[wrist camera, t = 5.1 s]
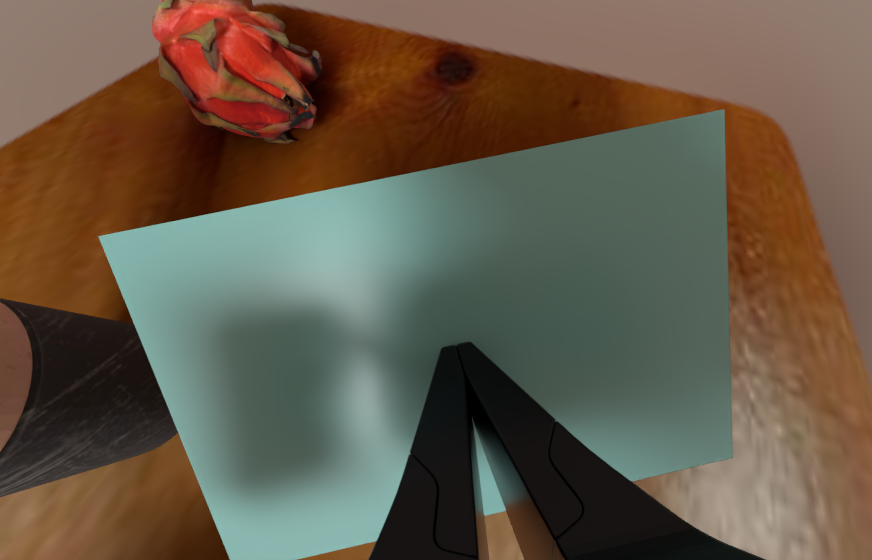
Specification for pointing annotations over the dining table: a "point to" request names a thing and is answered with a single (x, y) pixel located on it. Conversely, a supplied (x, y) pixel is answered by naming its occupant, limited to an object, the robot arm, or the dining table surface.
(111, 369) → the travel mug
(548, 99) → the dining table surface
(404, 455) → the mint green lid
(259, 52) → the dragon fruit
